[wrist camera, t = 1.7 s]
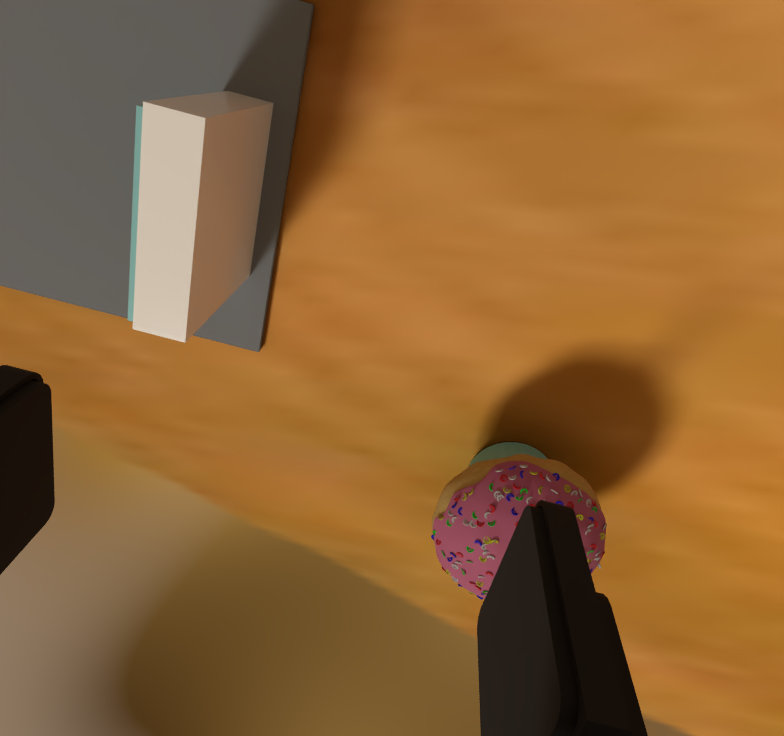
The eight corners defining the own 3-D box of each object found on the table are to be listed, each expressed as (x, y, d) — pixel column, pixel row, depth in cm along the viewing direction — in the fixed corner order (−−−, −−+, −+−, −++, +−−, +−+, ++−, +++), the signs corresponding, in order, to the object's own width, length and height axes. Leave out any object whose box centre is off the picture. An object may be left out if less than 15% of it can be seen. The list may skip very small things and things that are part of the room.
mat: (-25, -88, 24) (-32, -90, 24) (314, 4, 25) (312, 4, 24) (-1, 281, 32) (-7, 283, 31) (260, 348, 32) (258, 352, 32)
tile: (221, 89, 26) (133, 98, 19) (273, 103, 26) (205, 118, 19) (204, 264, 30) (124, 327, 23) (249, 275, 30) (185, 342, 23)
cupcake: (462, 393, 32) (466, 558, 21) (615, 437, 32) (694, 621, 22) (417, 514, 36) (401, 705, 25) (554, 552, 36) (594, 756, 26)
